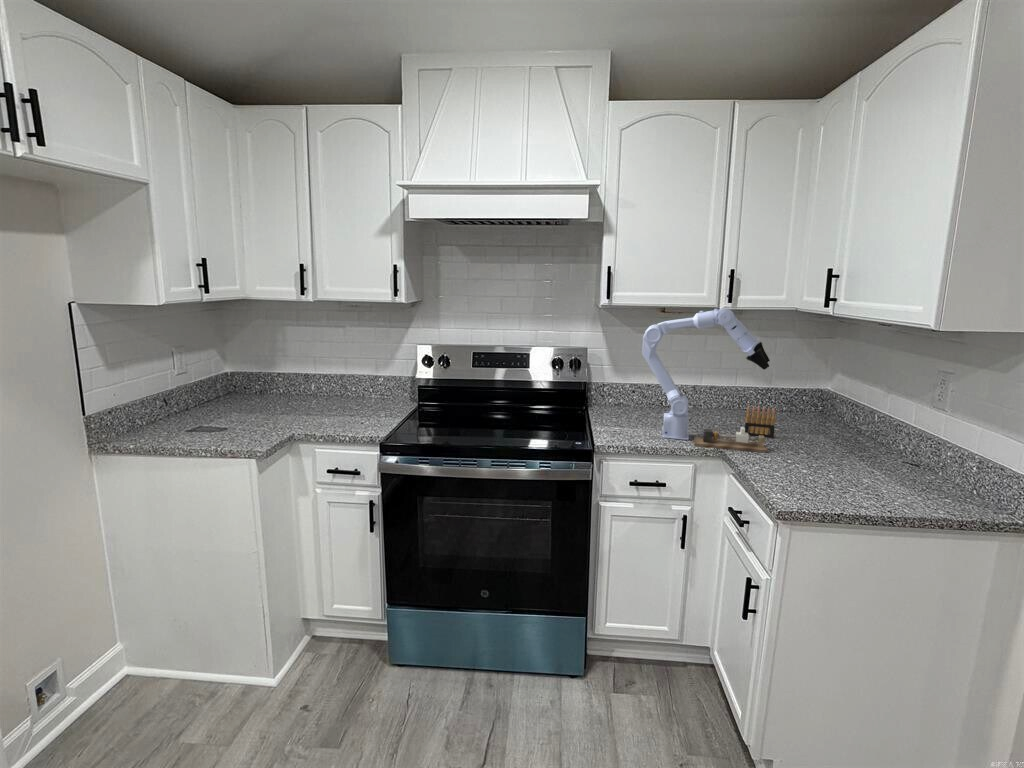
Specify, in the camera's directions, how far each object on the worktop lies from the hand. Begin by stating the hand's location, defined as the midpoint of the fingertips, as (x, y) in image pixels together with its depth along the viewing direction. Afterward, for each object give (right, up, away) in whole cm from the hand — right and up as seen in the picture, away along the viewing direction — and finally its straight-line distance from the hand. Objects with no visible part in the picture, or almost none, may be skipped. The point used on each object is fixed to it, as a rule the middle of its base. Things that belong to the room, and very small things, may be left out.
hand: (767, 365), depth 197 cm
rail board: (-12, -29, +4) cm, 32 cm away
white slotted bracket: (-8, -27, +2) cm, 28 cm away
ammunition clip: (+4, -27, +17) cm, 32 cm away
